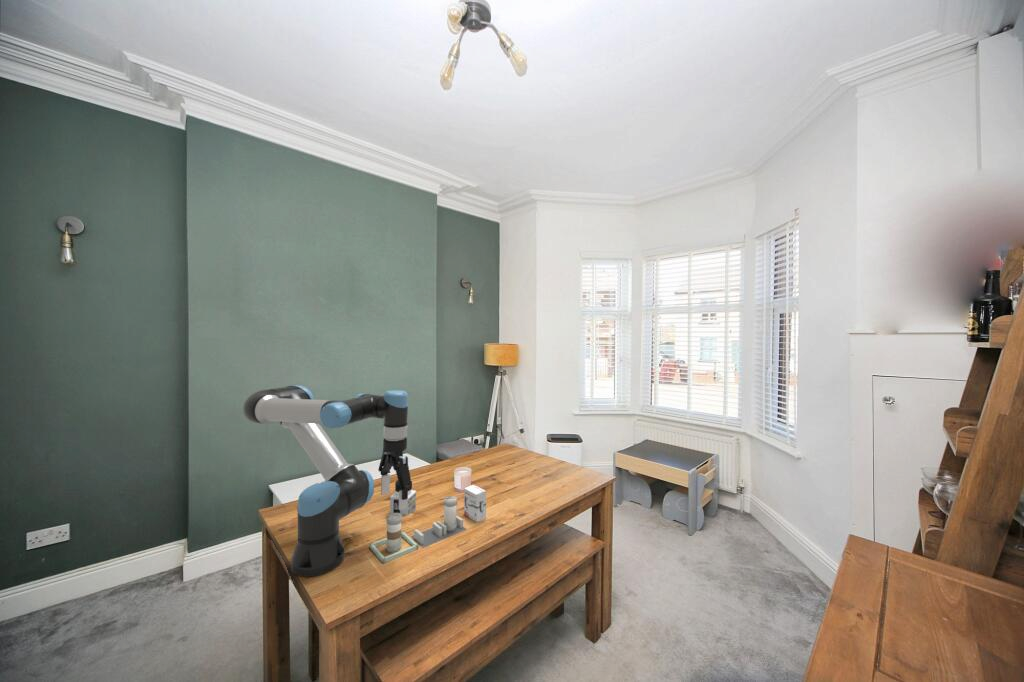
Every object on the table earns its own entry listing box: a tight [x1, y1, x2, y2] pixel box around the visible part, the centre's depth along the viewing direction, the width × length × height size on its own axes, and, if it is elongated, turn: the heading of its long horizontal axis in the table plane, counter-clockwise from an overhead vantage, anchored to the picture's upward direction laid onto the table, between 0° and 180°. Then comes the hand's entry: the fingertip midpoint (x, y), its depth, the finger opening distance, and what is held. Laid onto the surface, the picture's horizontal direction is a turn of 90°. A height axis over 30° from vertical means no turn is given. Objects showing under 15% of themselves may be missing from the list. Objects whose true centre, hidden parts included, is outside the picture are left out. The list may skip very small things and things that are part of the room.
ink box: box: [463, 484, 487, 523], centre depth 146 cm, size 9×5×12 cm, turn 44°
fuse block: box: [410, 515, 468, 548], centre depth 134 cm, size 18×9×4 cm, turn 132°
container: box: [389, 479, 417, 517], centre depth 150 cm, size 8×8×13 cm
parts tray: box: [369, 531, 419, 564], centre depth 124 cm, size 12×11×2 cm
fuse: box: [443, 495, 458, 532], centre depth 136 cm, size 5×5×11 cm
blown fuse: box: [385, 513, 403, 554], centre depth 123 cm, size 5×5×11 cm
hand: (393, 500), depth 123 cm, fingers open, 13 cm apart
